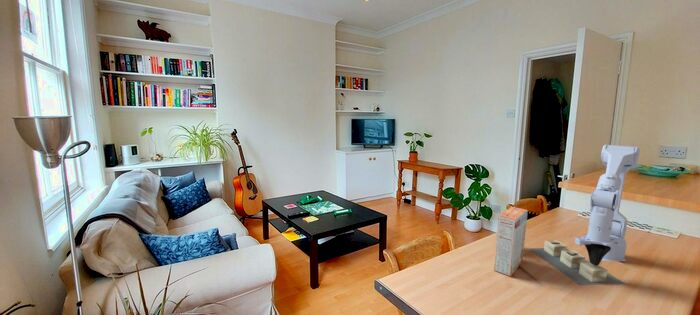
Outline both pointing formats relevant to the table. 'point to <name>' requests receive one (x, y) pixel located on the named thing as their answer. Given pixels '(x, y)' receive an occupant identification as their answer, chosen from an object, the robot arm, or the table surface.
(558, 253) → the block one
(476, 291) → the table surface
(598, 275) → the block plain
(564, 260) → the block seven
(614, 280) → the mat
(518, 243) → the cracker box
